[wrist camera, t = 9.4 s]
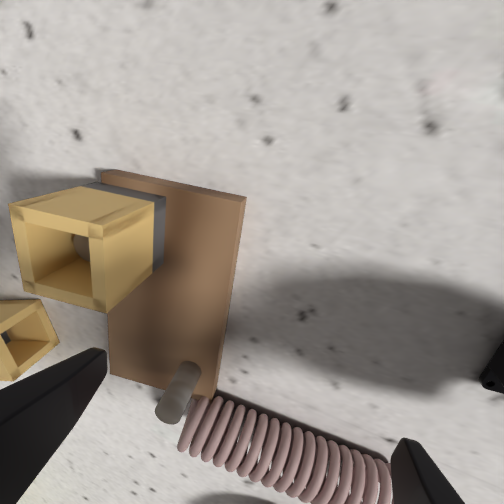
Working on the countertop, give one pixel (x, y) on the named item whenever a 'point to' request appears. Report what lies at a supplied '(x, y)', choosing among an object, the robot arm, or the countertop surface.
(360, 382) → the countertop surface
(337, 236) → the countertop surface
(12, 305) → the tan angular part
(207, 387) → the pin board
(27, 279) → the loose sleeve
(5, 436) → the robot arm
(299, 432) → the coil
